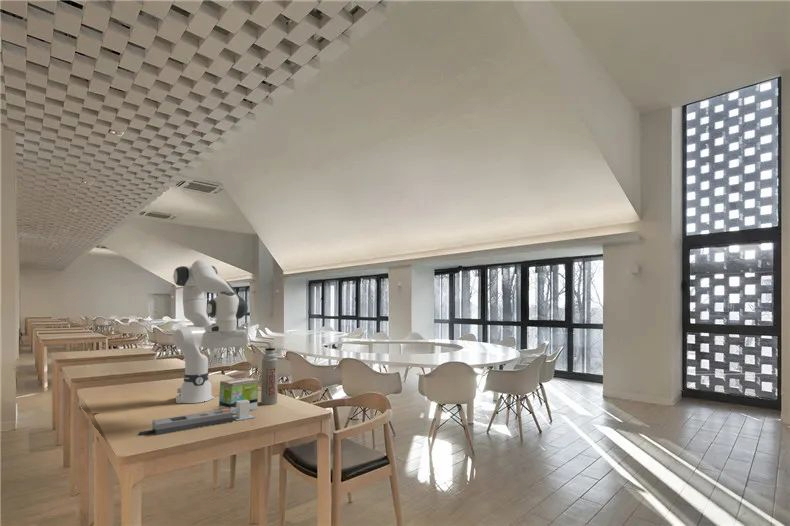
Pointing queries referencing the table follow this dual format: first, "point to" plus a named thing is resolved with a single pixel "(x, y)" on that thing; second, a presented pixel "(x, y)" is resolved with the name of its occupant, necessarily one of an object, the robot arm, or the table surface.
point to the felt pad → (243, 418)
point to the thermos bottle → (269, 377)
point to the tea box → (238, 393)
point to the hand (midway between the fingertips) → (224, 357)
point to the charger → (242, 409)
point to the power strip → (189, 421)
